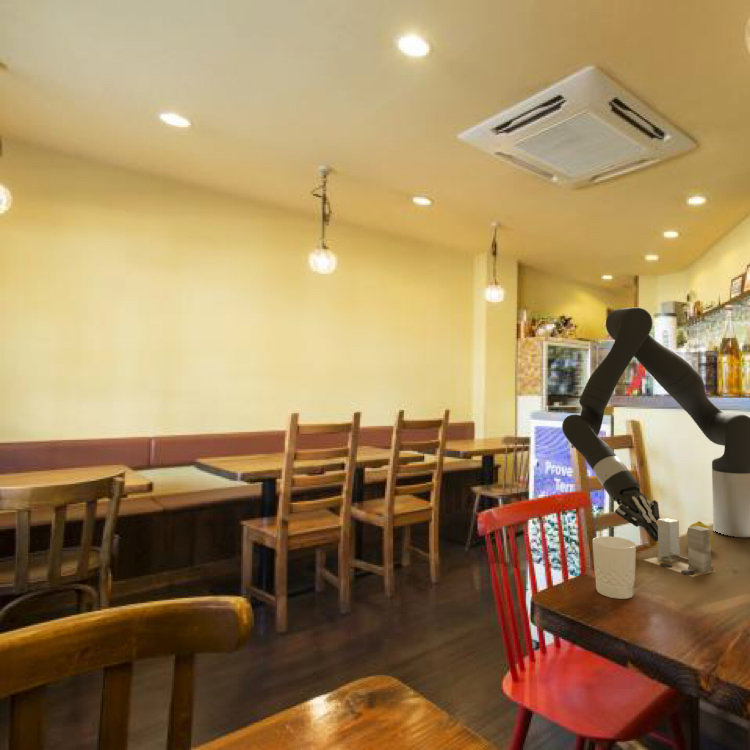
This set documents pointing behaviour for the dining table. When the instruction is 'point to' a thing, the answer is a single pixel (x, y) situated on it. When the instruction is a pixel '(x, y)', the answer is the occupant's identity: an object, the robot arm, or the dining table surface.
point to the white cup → (614, 566)
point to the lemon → (703, 527)
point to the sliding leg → (668, 540)
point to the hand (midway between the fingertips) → (660, 539)
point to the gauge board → (692, 554)
